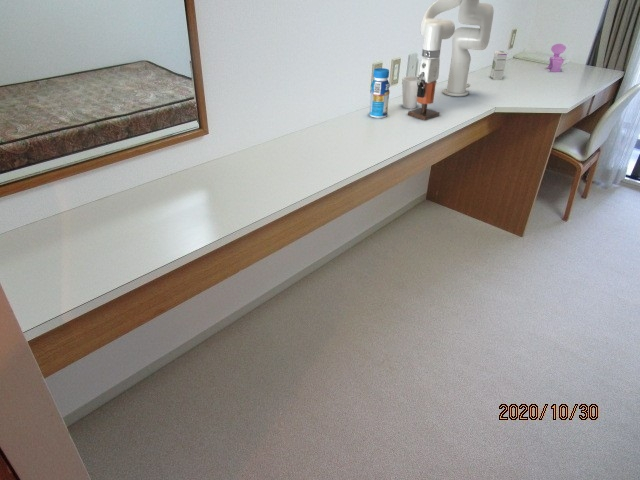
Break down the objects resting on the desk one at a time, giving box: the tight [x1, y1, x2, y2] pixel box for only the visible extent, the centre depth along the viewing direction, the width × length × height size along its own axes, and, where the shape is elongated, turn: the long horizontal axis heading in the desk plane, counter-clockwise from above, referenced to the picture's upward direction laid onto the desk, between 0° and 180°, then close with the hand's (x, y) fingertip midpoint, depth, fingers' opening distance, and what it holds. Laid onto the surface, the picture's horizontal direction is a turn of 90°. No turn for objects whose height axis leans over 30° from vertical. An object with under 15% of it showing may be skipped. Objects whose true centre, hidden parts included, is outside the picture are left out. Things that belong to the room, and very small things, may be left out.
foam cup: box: [401, 75, 419, 109], centre depth 213 cm, size 10×9×13 cm
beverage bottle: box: [369, 67, 391, 119], centre depth 200 cm, size 8×8×20 cm
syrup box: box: [489, 50, 508, 80], centre depth 260 cm, size 6×6×14 cm
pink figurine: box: [546, 43, 567, 73], centre depth 276 cm, size 8×9×15 cm
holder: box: [407, 103, 440, 121], centre depth 201 cm, size 10×10×15 cm
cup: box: [417, 80, 437, 105], centre depth 200 cm, size 7×7×9 cm
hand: (425, 94), depth 200 cm, fingers open, 9 cm apart
